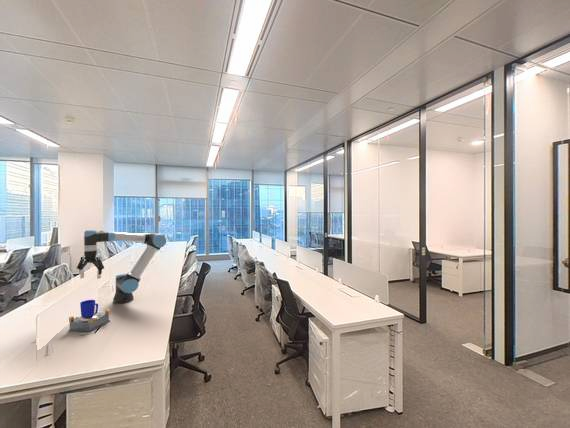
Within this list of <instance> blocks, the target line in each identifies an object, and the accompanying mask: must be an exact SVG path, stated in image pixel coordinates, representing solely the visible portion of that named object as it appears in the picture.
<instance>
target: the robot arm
mask: <svg viewBox="0 0 570 428" xmlns="http://www.w3.org/2000/svg"><path fill="white" fill-rule="evenodd" d="M83 240H84V241H83V245H84V247H83V248H84V249H83V251H84V253H83V255H84V256H83V255H82V256H81V257H80V260H79V262H78V263H77V266H76V269H77V270H79V277H80V278H79V279H84V278H85V269H84V268H85V267H86V266H87V265H88V264H93V265H94V266H95V268H96V269H97V270H96V279H97V280H99V279H101V278H102V273H103V271H102V270H104V269H105V266H104V264H103V262H102V260H101V259H102V258H101V256H97V254H98V253H97V248H98V245H97V243H104V242H126V243H128V242H129V243H141V244H144V245H146V248H145V249H144V251H143V252H142V254H141V256H139V259H138V260H137V262H136V263H135V265H134V266H133V267H132V269H131V270H130V272H127V273H121V274H117V275H115V293H114V297H113V299H112V303H114V304H123V303H124V304H125V303H129V302H131V301H133V300H134V295H133V293H134V292H135V291H137V290H138V289H139V283H140V282H141V279H142V278H141V276H142V274H144V271H146V268H147V267H148V265H149V264H150V263H151V261H152V259H153V258H154V256H155V254H156V253H157V252H160V250H161V249H162V248H163V247H164V246H165V245H166V243H167V237H166V236H165V235H164V234H162V233H156V232H151V233H150V232H149V233H147V232H144V233H132V232H120V231H119V232H118V231H107V230H105V231H104V230H99V231H97V230H96V229H87V230H85V231H84V233H83Z"/></svg>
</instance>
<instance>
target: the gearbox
mask: <svg viewBox="0 0 570 428" xmlns="http://www.w3.org/2000/svg"><path fill="white" fill-rule="evenodd" d="M104 311H105V312H97V314H96V315H93V316H91V317H88V318H83V317H82V316H76V317H74V316H69V317H68V318H69V322H68V323H69V329H70V330H69V329H68V330H69V331H68V332H73V333H74V332H75V333H89V334H90V333H91V332H93V331H96V330H97V329H100V328H101V327H103V326H105V325H106V324H108V323H110V322H111V319H109V317H110V314H111V309H106V310H104ZM95 312H96V311H94V314H95Z"/></svg>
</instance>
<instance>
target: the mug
mask: <svg viewBox="0 0 570 428" xmlns="http://www.w3.org/2000/svg"><path fill="white" fill-rule="evenodd" d="M79 305H80V306H79V307H80V315H81V316H82V317H83V318H88V317H91V316H93V315H96V314H97V313H98V311H99V303H96V300H95V299H86V300H82V301H80V304H79ZM94 312H95V314H94ZM81 316H80V317H81Z"/></svg>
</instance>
